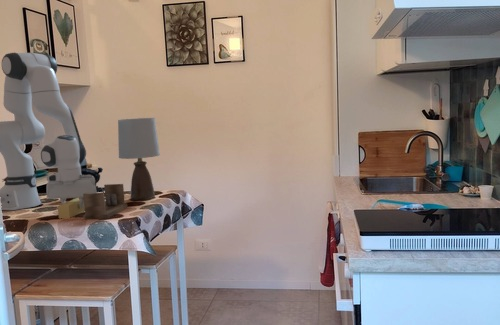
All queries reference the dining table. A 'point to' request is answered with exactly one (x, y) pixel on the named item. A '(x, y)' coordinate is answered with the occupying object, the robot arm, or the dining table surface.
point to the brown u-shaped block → (96, 202)
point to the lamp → (139, 152)
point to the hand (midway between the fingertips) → (73, 208)
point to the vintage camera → (92, 174)
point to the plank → (70, 209)
